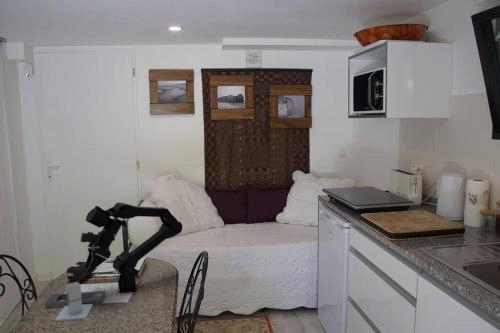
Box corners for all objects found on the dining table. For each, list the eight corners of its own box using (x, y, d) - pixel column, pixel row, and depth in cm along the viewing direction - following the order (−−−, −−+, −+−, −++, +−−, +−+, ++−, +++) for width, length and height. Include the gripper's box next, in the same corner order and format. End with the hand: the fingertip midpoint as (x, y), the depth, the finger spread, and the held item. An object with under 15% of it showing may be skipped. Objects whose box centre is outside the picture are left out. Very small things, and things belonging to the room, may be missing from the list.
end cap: (81, 284, 163) (80, 269, 162) (66, 283, 165) (65, 268, 164) (95, 274, 173) (94, 260, 172) (81, 273, 174) (80, 259, 174)
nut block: (79, 307, 142) (77, 281, 141) (82, 311, 139) (80, 285, 138) (67, 310, 140) (65, 284, 138) (70, 315, 136) (68, 288, 135)
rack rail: (105, 295, 153) (105, 290, 152) (101, 304, 146) (101, 298, 146) (52, 299, 150) (51, 294, 150) (45, 308, 143) (44, 302, 143)
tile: (93, 305, 145) (92, 303, 145) (85, 319, 135) (85, 317, 135) (64, 307, 144) (64, 305, 143) (55, 321, 134) (55, 319, 134)
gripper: (87, 221, 156) (65, 257, 151) (92, 224, 139) (68, 265, 135) (112, 234, 160) (91, 269, 155) (120, 238, 144) (97, 278, 139)
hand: (86, 270), depth 146 cm, fingers open, 9 cm apart
